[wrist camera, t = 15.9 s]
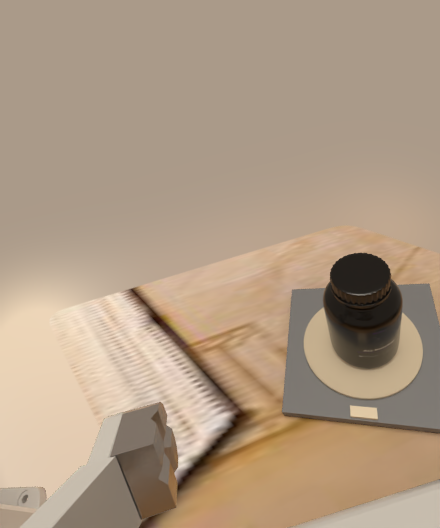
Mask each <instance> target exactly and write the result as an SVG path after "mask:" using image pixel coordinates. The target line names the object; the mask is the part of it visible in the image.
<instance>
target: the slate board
mask: <svg viewBox="0 0 440 528" xmlns="http://www.w3.org/2000/svg"><path fill="white" fill-rule="evenodd" d="M397 286H398V287H399V289H400V291H401V294H402V299H403V308H402V319H401V329H400V340H399V347H398V350H397V353H396V355H395V356H394V357H393V359H392V360H391V361H389V362H388V363H387V364H385V365H383V366H380V367H377V368H371V369H365V368H358V367H355V366H352V365H350V364H348V363H346V362H345V361H344V360H342V359H341V358H340V357H339V356H338V355H337V353H336V352H335V350H334V348H333V346H332V343H331V339H330V335H329V330H328V325H327V320H326V315H325V311H324V306H323V294H324V290H325V288H319V289H296V290H292V297H291V310H290V322H289V334H288V347H287V359H286V371H285V384H284V396H283V408H282V412H283V414H284V415H285V416H293V417H302V418H311V419H320V420H328V421H337V422H346V423H355V424H364V425H372V426H381V427H390V428H399V429H408V430H416V431H425V432H434V433H440V326H439V322H438V317H437V313H436V309H435V305H434V301H433V297H432V293H431V289H430V285H429V284H409V285H397Z"/></svg>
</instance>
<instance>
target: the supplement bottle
mask: <svg viewBox="0 0 440 528" xmlns="http://www.w3.org/2000/svg"><path fill="white" fill-rule="evenodd" d="M323 306H324V311H325V315H326V320H327V325H328V330H329V335H330V339H331V343H332V346H333V348H334V350H335V352H336V353H337V355H338V356H339V357H340V358H341V359H342V360H344V361H345V362H346V363H348V364H350V365H352V366H355V367H358V368H365V369H371V368H377V367H380V366H383V365H385V364H387V363H388V362H389V361H391V360H392V359H393V357H394V356H395V355H396V353H397V350H398V347H399V340H400V329H401V319H402V308H403V299H402V294H401V291H400V289H399V287H398V286H397V284H396V283H395V282H394V281H393V280H392V279H391V273H390V269H389V268H388V265H387V264H386V263H385V261H383V260H382V259H381V258H378V257H377V256H374V255H372V254H367V253H354V254H349V255H347V256H344V257H343V258H340V259H339V260H338V261H336V263H335V264H334V265H333V268H332V269H331V272H330V282H329V283H328V285H327V286H326V288H325V290H324V294H323Z"/></svg>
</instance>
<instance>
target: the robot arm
mask: <svg viewBox="0 0 440 528" xmlns="http://www.w3.org/2000/svg"><path fill="white" fill-rule="evenodd" d="M166 422H167V414H166V411H165V408H164V406H163V404H162V403H161V402H158V403H155V404H151V405H147V406H144V407H140V408H136V409H133V410H129V411H125V412H121V413H118V414H115V415H111V416H108V417H106V418H105V419H104V420H103V423H102V425H101V428H100V431H99V433H98V436H97V439H96V442H95V444H94V447H93V449H92V452H91V455H90V457H89V460H88V462H87V465H84V466H81V467H80V468H79V469H78V470H77V471H76V472H75V473H74V474H73V475H72V476H71V477H70V478H69V479H68V480H67V481H66V482H65V483H64V484H63V485H62V486H61V487H60V488H59V489H58V490H57V491H56V492H55V493H54V494H53V495H52V496H51V497H50V498H49V499H48V500H47V501H46V491H45V489H44V488H43V487H20V488H0V528H139V526H140V524H141V520H142V519H145V518H147V517H150V516H153V515H156V514H159V513H162V512H165V511H168V510H171V509H174V508H176V503H177V480H176V477H175V474H174V472H175V471H176V469H177V468H178V454H177V446H176V441H175V437H174V434H173V431H172V429H171V428H170V427H168V426H167V425H166ZM27 498H28V499H27ZM289 528H440V479H439V480H436V481H433V482H430V483H427V484H423V485H420V486H417V487H414V488H411V489H408V490H405V491H402V492H398V493H395V494H392V495H389V496H386V497H383V498H380V499H376V500H373V501H370V502H367V503H364V504H361V505H358V506H355V507H351V508H348V509H345V510H342V511H339V512H336V513H333V514H330V515H326V516H323V517H320V518H317V519H314V520H311V521H307V522H304V523H301V524H298V525H295V526H292V527H289Z"/></svg>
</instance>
